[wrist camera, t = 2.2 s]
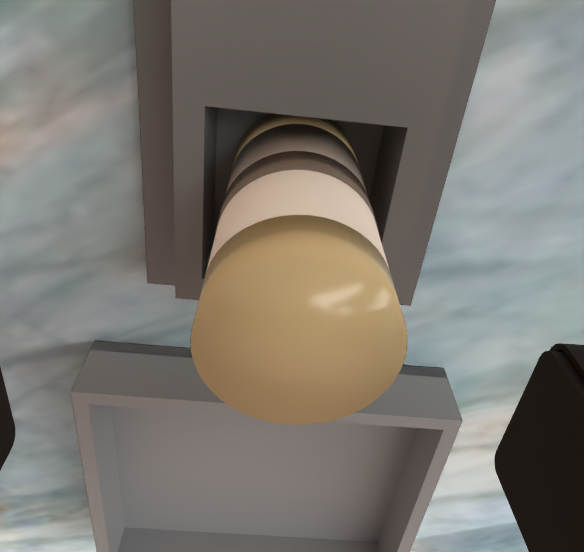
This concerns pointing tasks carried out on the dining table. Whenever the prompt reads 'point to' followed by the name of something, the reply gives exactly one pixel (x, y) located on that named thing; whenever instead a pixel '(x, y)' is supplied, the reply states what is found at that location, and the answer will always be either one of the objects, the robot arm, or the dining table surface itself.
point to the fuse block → (300, 109)
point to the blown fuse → (297, 281)
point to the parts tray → (251, 462)
